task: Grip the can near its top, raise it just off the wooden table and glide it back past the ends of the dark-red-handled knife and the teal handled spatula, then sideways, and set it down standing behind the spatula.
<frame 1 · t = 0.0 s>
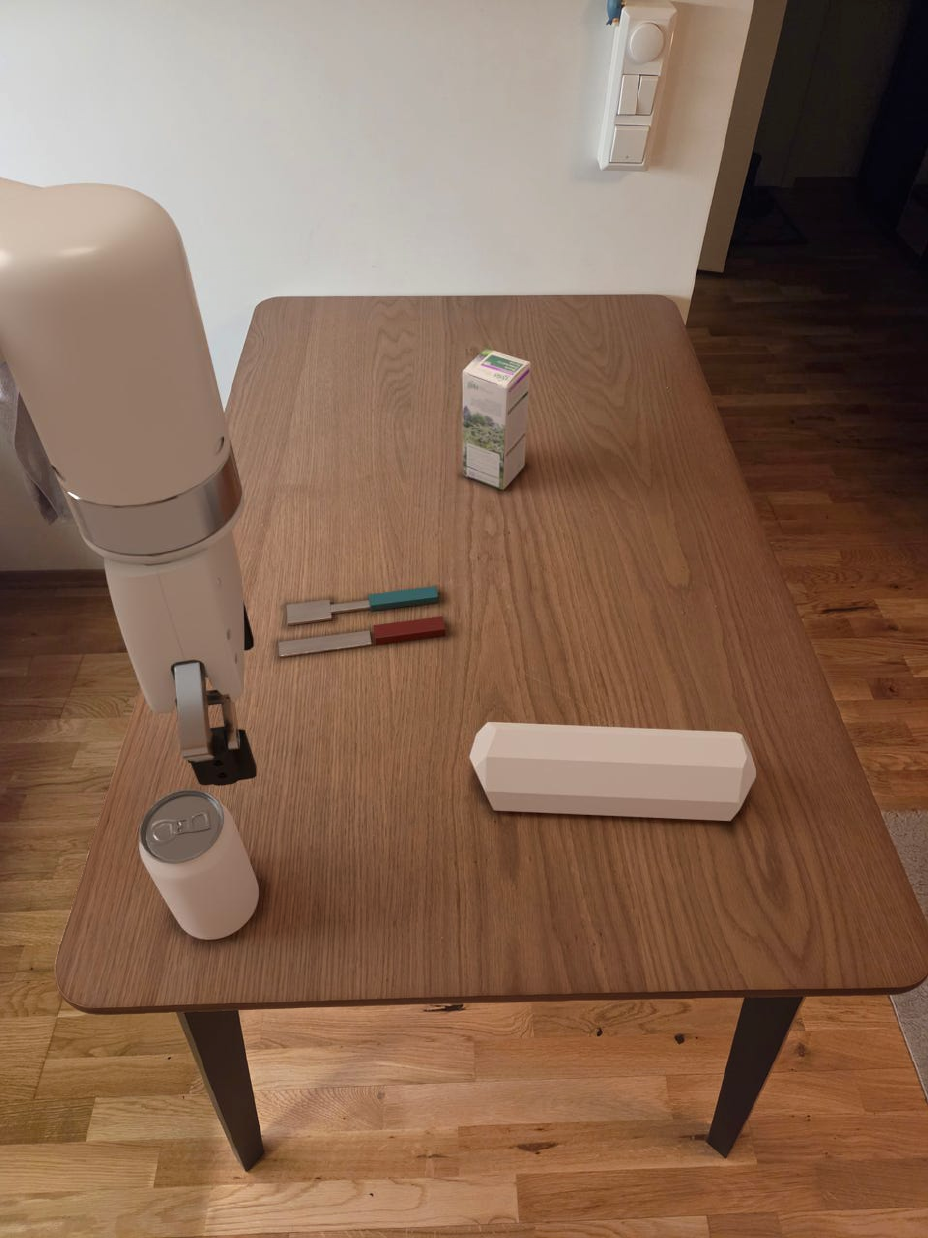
hand: (229, 709, 52), 22 cm above the table, tool pointing down, fingers open, 9 cm apart
knife: (364, 639, 85), on the table
syrup box: (493, 473, 104), on the table
teal handled spatula: (360, 607, 88), on the table
crystal: (607, 783, 74), on the table
can: (218, 902, 67), on the table
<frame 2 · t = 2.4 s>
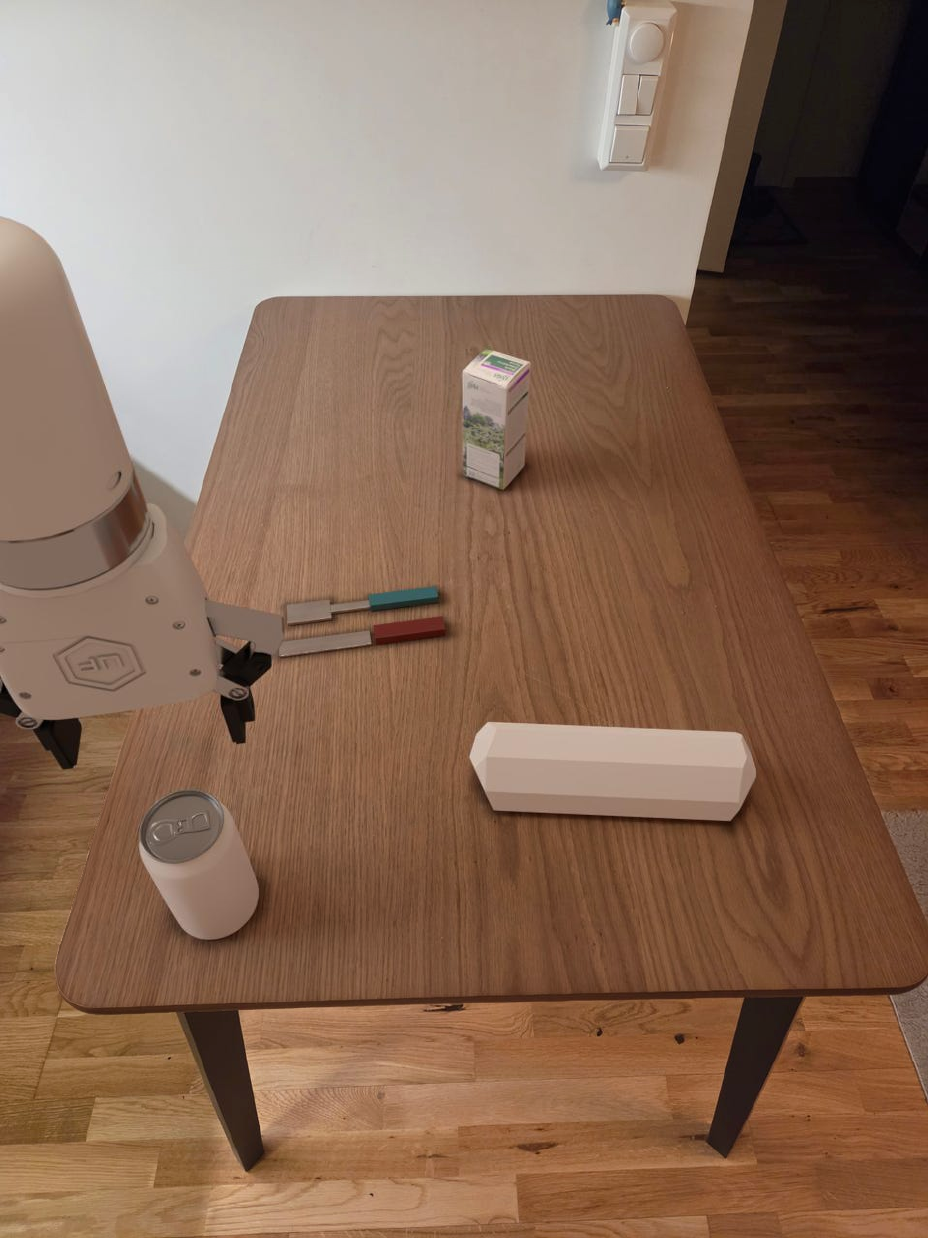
hand: (157, 736, 51), 22 cm above the table, tool pointing down, fingers open, 9 cm apart
nothing on the table moved.
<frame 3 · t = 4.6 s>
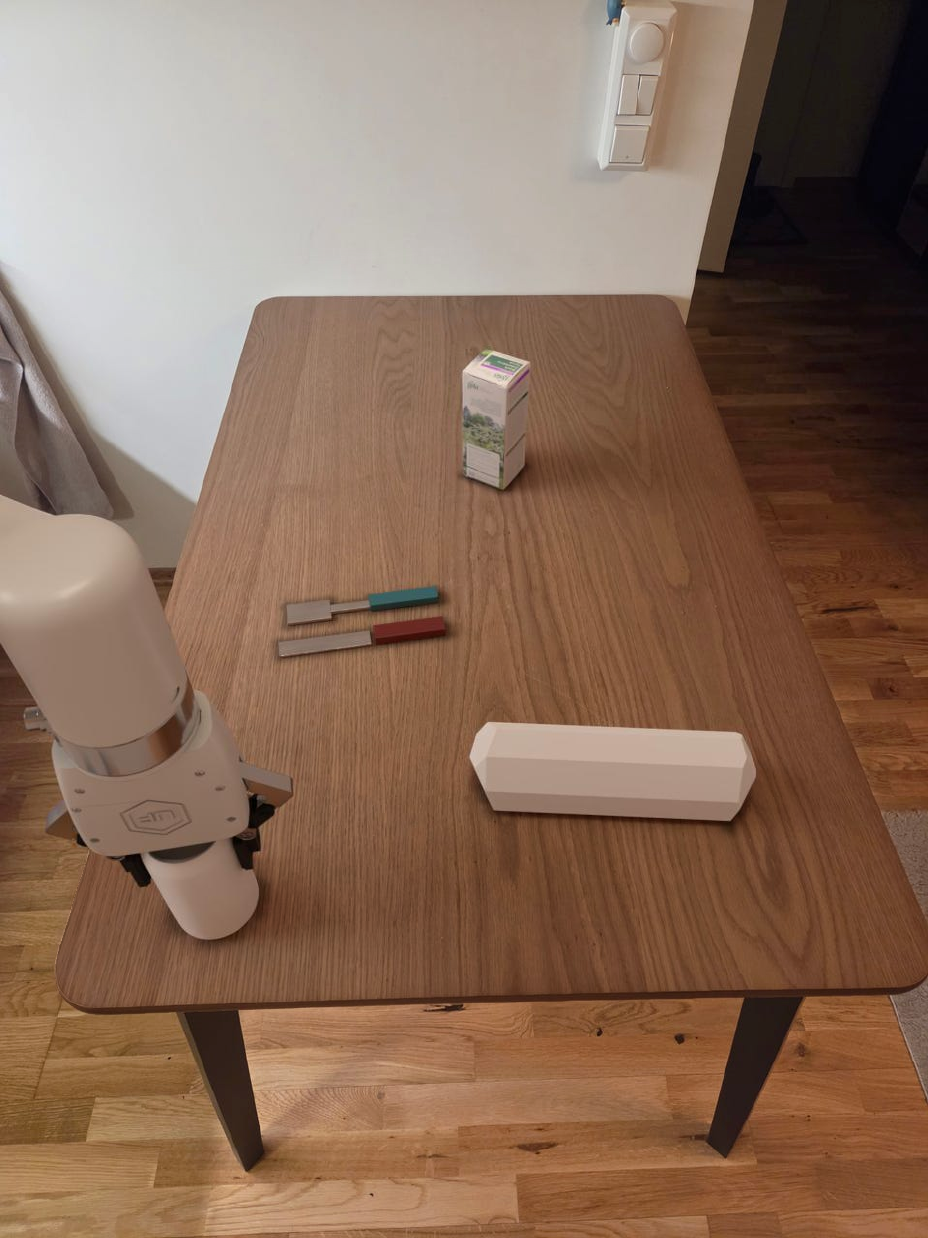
hand: (197, 858, 62), 7 cm above the table, tool pointing down, fingers closed on can, 6 cm apart
can: (218, 902, 67), on the table, touching gripper
everything else where it was.
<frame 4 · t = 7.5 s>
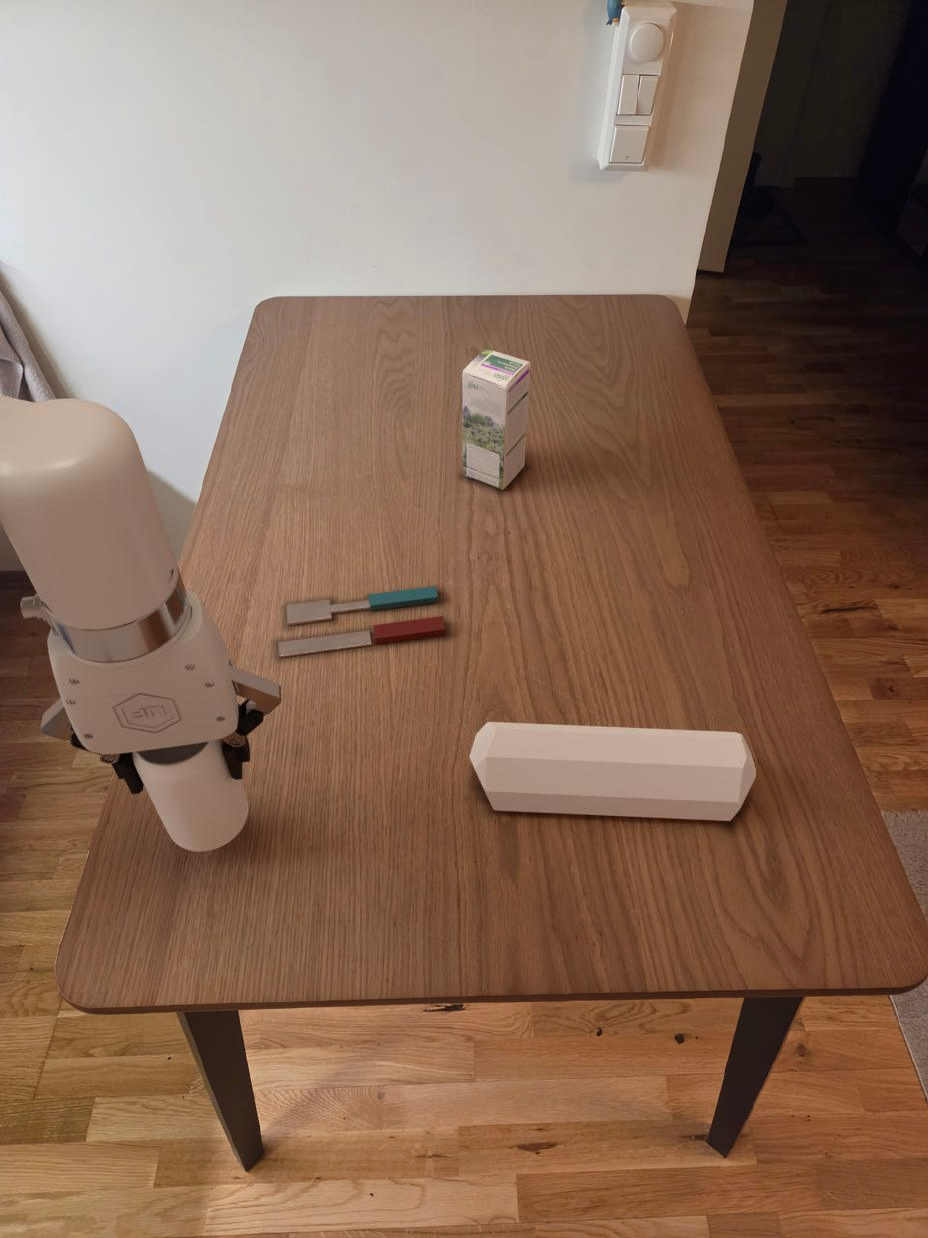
hand: (188, 769, 64), 10 cm above the table, tool pointing down, fingers closed on can, 6 cm apart
can: (209, 818, 69), point 3 cm above the table, touching gripper
everything else where it was.
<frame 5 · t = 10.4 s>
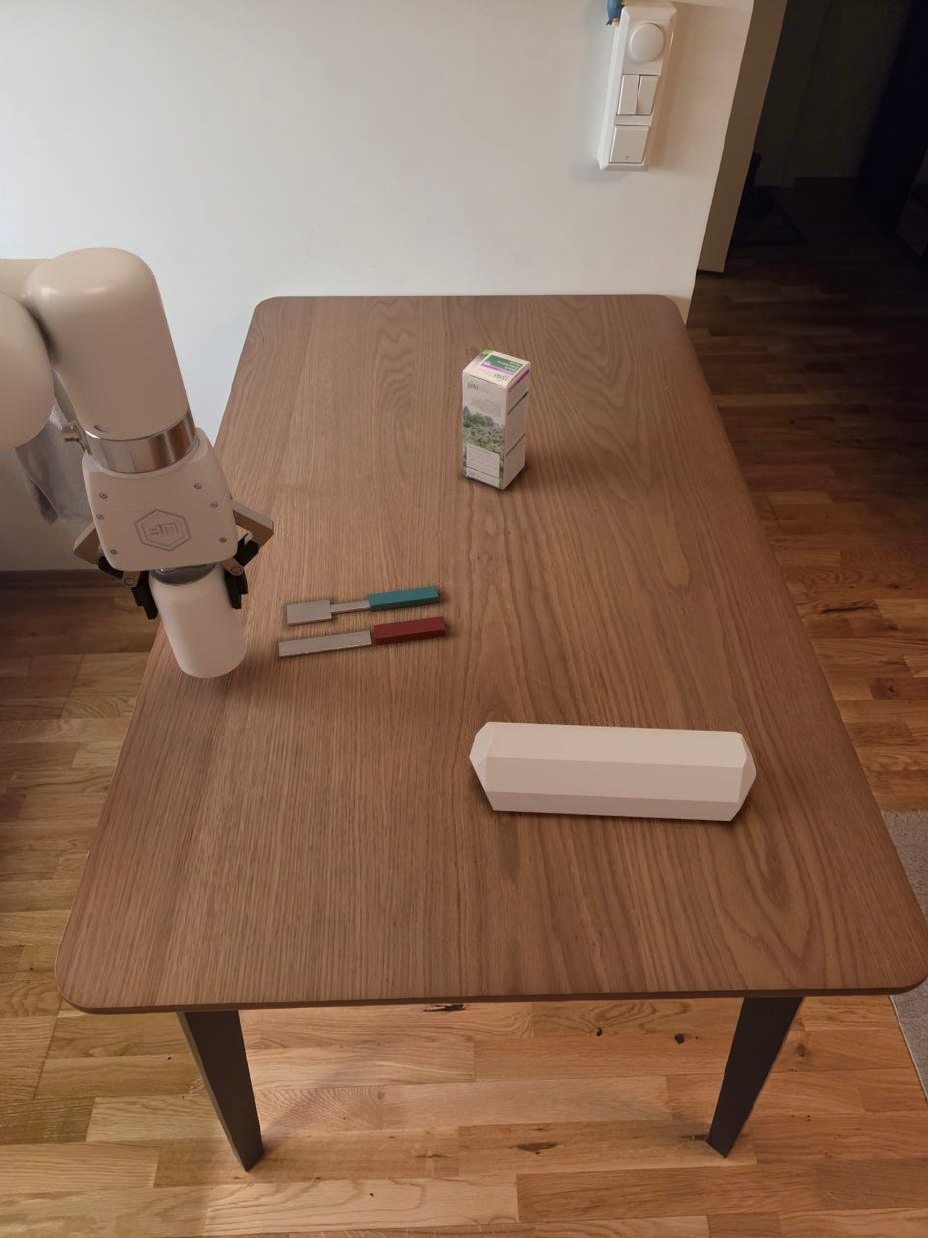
hand: (195, 601, 75), 10 cm above the table, tool pointing down, fingers closed on can, 6 cm apart
can: (213, 655, 80), point 3 cm above the table, touching gripper
everything else where it was.
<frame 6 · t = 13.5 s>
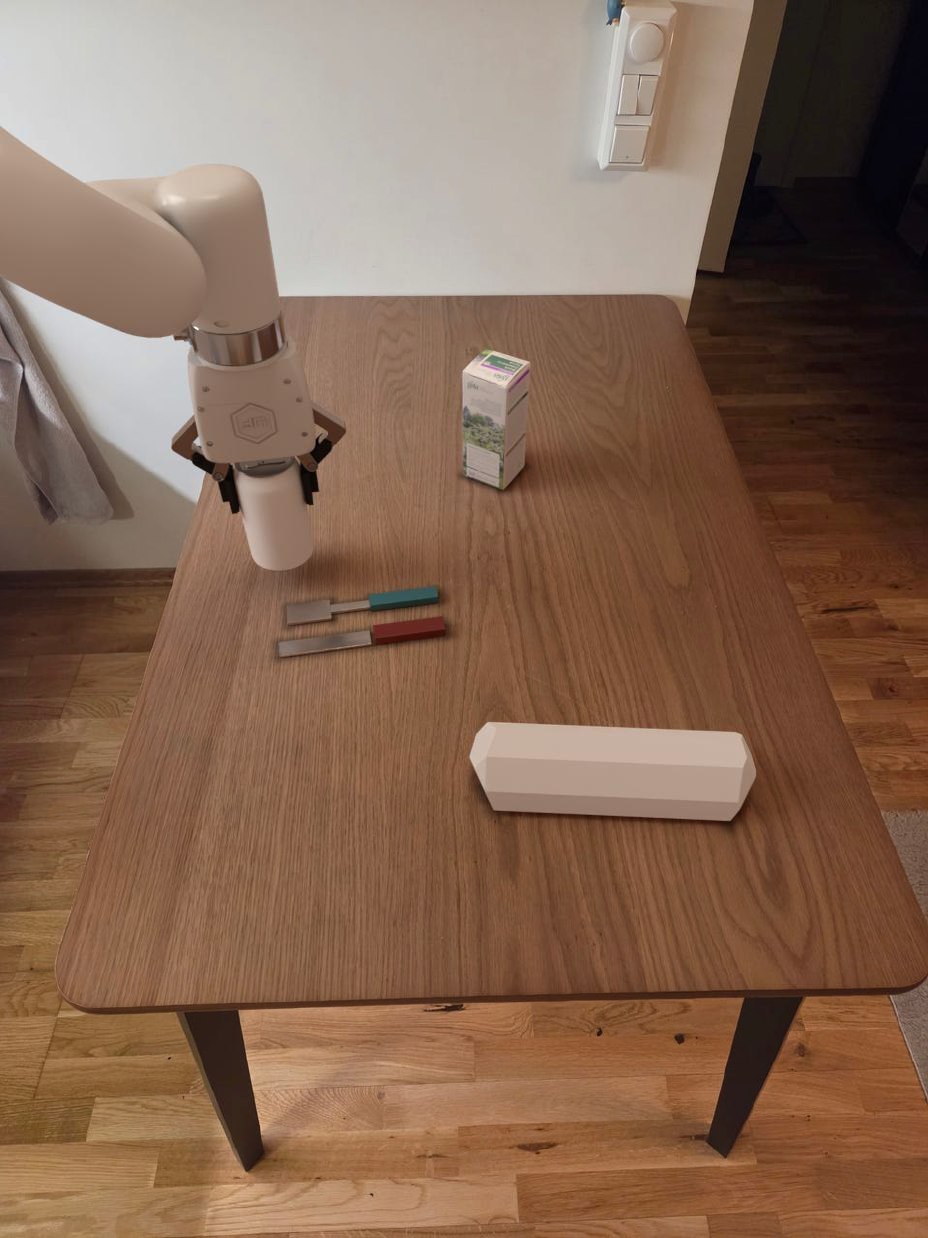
hand: (272, 499, 84), 10 cm above the table, tool pointing down, fingers closed on can, 6 cm apart
can: (283, 553, 90), point 3 cm above the table, touching gripper
everything else where it was.
when the fingers open (7 cm above the table, at t = 16.2 s): can stays where it is, on the table.
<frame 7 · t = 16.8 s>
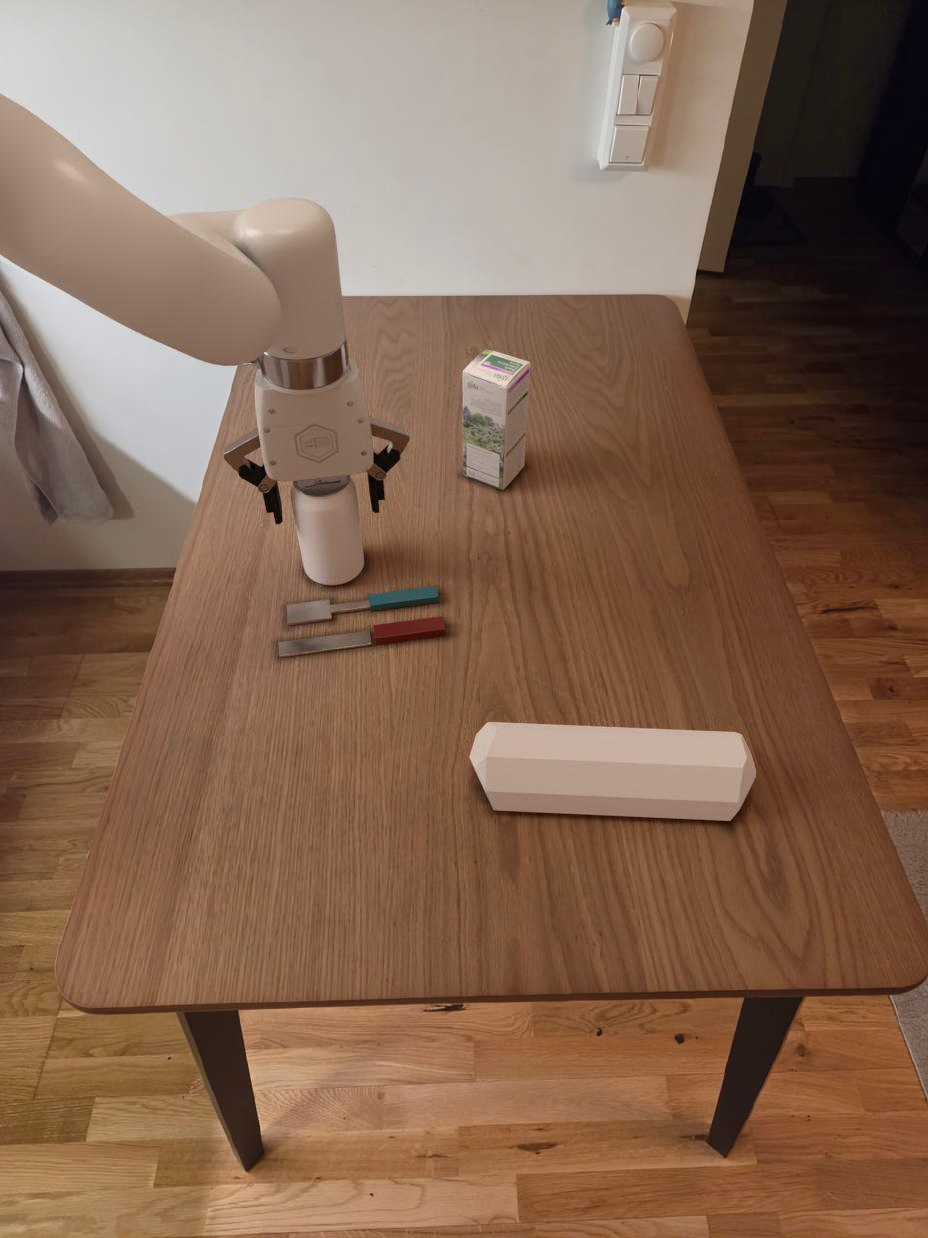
hand: (327, 509, 86), 8 cm above the table, tool pointing down, fingers open, 9 cm apart
can: (334, 567, 92), on the table
everything else where it was.
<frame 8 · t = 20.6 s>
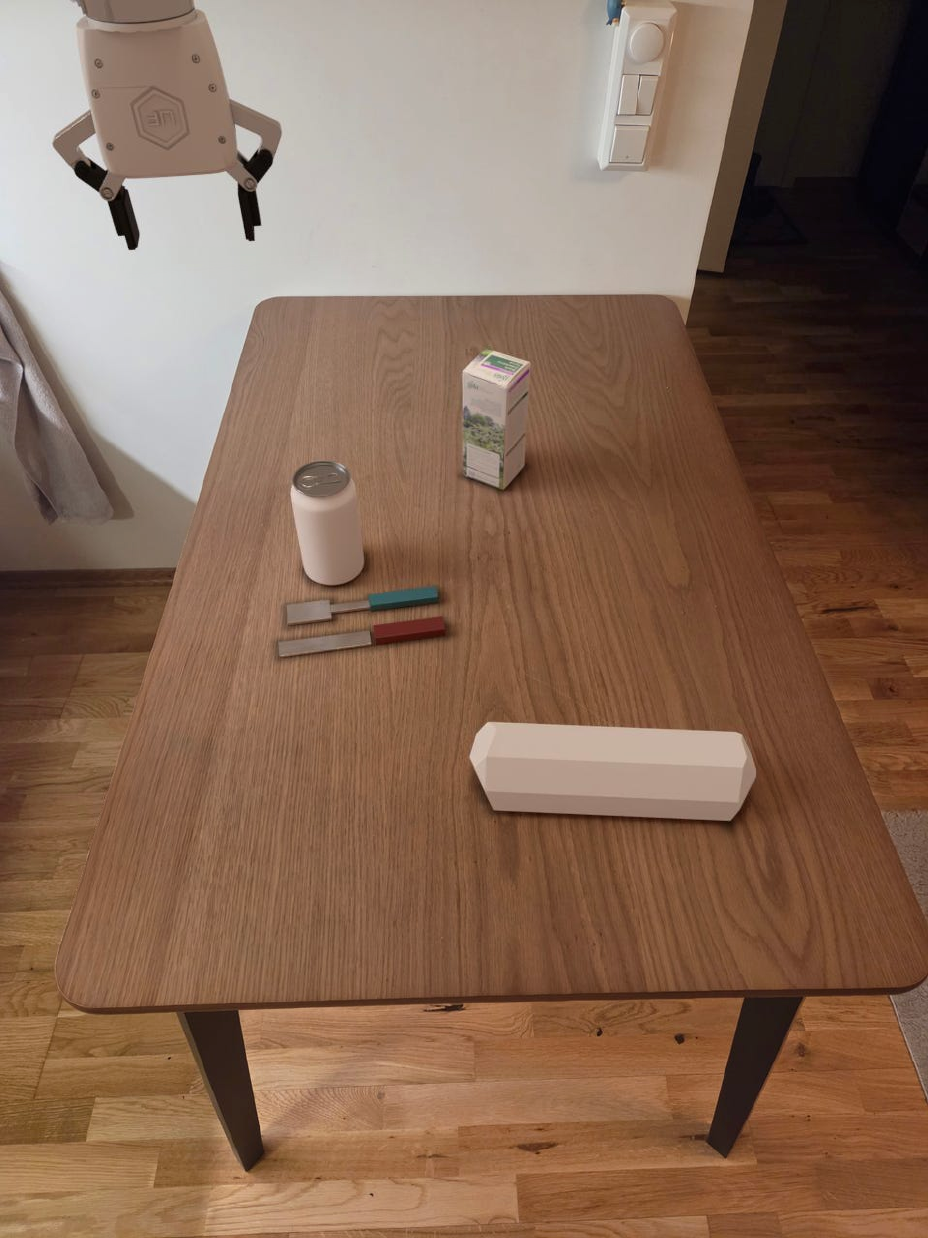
hand: (193, 238, 73), 32 cm above the table, tool pointing down, fingers open, 9 cm apart
nothing on the table moved.
at the end: can inside the target area on the table beside the teal handled spatula (1.7 cm from its centre), on the table; can tilted 0°; the gripper is holding nothing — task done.
